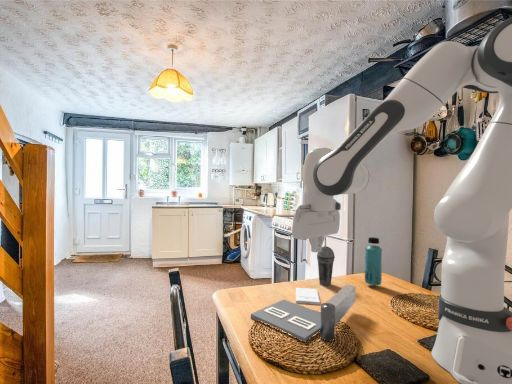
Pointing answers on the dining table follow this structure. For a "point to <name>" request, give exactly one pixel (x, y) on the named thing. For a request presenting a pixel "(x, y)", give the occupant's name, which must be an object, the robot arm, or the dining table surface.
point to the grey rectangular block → (335, 311)
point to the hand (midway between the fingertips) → (316, 251)
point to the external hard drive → (307, 296)
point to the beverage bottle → (373, 262)
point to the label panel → (291, 319)
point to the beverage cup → (325, 265)
